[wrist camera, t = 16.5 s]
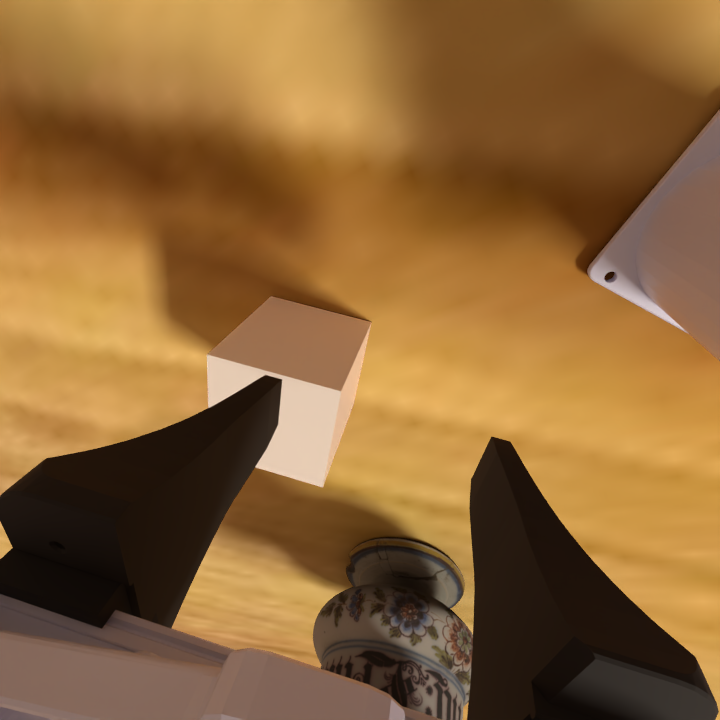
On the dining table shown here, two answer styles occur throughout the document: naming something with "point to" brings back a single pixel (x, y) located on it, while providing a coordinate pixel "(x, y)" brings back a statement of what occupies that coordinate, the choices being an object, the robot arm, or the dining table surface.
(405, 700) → the apothecary jar
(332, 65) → the dining table surface
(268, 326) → the beige block
